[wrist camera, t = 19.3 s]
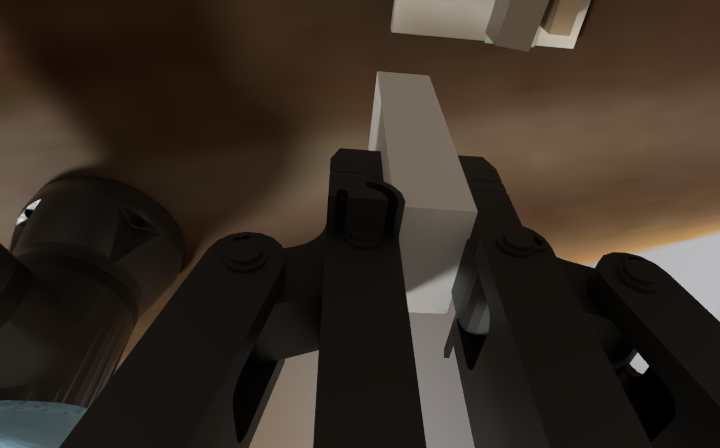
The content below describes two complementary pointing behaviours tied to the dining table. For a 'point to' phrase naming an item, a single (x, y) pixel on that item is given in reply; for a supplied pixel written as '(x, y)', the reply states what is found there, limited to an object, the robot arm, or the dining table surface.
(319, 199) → the dining table surface
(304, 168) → the dining table surface
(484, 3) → the beige piece
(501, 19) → the bar
